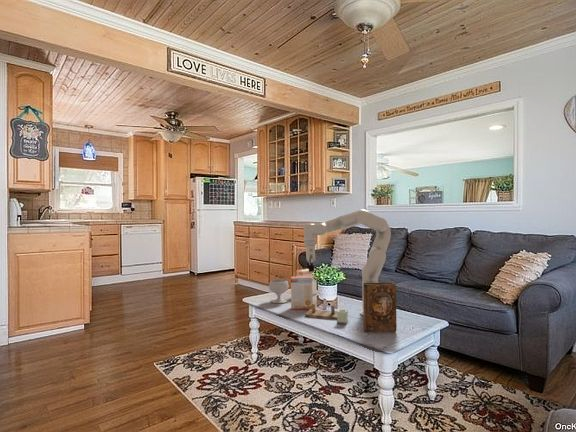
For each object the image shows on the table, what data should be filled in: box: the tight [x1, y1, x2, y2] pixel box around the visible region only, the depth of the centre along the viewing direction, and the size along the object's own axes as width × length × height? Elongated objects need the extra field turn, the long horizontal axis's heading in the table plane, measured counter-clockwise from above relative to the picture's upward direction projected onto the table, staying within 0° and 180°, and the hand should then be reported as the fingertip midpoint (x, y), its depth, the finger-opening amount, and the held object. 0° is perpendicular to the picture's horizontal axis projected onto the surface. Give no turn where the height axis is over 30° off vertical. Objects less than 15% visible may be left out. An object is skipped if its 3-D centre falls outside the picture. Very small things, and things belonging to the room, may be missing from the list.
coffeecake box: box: [295, 268, 318, 296], centre depth 268 cm, size 15×7×20 cm, turn 130°
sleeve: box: [336, 308, 349, 326], centre depth 199 cm, size 5×5×7 cm
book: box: [363, 282, 398, 334], centre depth 185 cm, size 16×6×25 cm, turn 92°
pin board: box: [304, 303, 338, 321], centre depth 214 cm, size 20×12×6 cm, turn 70°
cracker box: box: [290, 276, 314, 311], centre depth 230 cm, size 14×6×21 cm, turn 84°
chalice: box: [268, 278, 290, 304], centre depth 249 cm, size 14×14×15 cm
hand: (310, 270), depth 222 cm, fingers open, 9 cm apart
